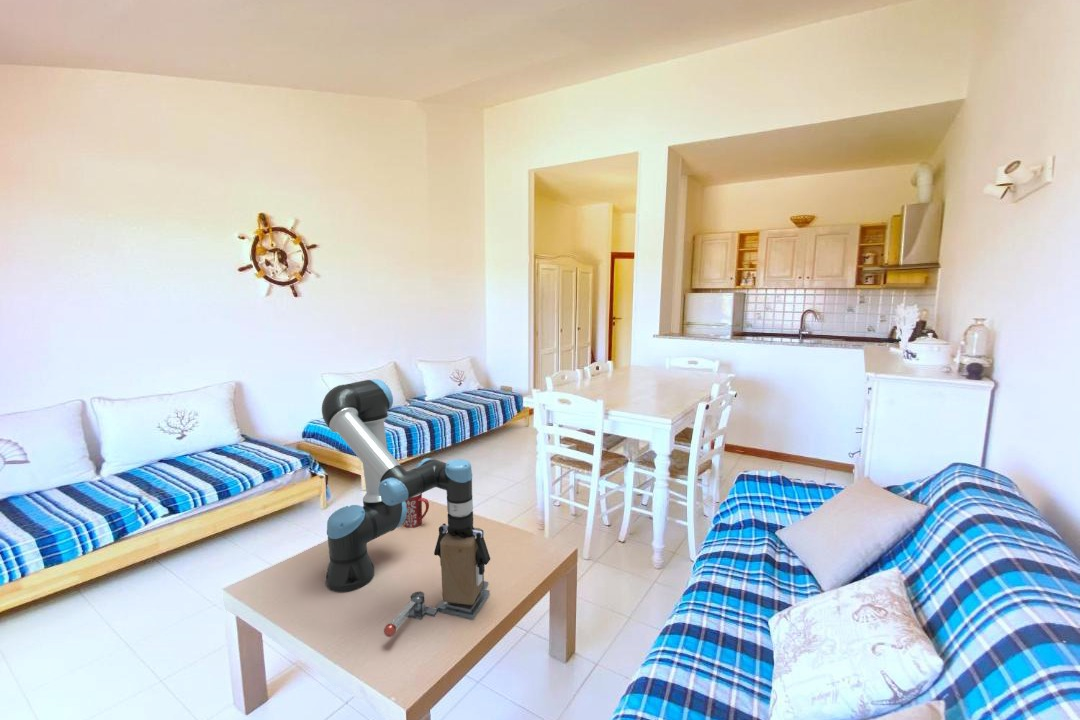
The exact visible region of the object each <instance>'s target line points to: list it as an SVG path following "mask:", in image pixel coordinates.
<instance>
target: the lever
mask: <svg viewBox="0 0 1080 720" xmlns="http://www.w3.org/2000/svg"><path fill="white" fill-rule="evenodd" d="M424 604H425V593H424V592H423V591H415V592H413V593H411V595H410V601H409V602H408V603H407V604H406V605H405V606H404V608H403V609H402V610H401V611H400V612H399V614H397V616H396V617H394V619H393V620H392V621H391V622H389V623H387V624H386V625H385V627H384V628H383V634H384V636H386V637H388V638H391V637H393V636H394V635H395V634H396V633H397V629H398V628H399V627H400V626H401V625H402V624H403V622H404V621H405V620H406V619H407V618H409V617H408V615H409V614H410V613H411V612H412V611H413V610H414V608H415V607H417V606H421V605H424Z"/></svg>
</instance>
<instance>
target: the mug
mask: <svg viewBox="0 0 1080 720" xmlns="http://www.w3.org/2000/svg"><path fill="white" fill-rule="evenodd" d="M404 502H405V503H406V507H407V515H406V519H405V521H404V522H403V525H404V527H406V528H409V529H410V528H411V529H412V528H417V527H419V526H421V525H422V523H423V519H424V518H425V516H426V515H427V513H428V511H429V509H430V502H429V500H428V499H427V498H424V497H423V493H421V494H418V495H416V496H414V497H412V498H410V499H408V500H406V501H404ZM423 503H424V504H425V510H424V512H423Z"/></svg>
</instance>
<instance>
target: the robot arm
mask: <svg viewBox="0 0 1080 720" xmlns="http://www.w3.org/2000/svg"><path fill="white" fill-rule="evenodd" d="M393 404H394V397H393V394H392V390H391V389H390V387H389V385H388V384H387V383H386V382H385V381H384V380H382V379H379V378H374V379H373V378H372V379H364V380H360V381H356V382H351V383H346V384H339V385H336V386H335V387H333V388H331V389H330V390H329V391H328V392H327V393H326V395H325V396H324V398H323V401H322V404H321V415H322V418H323V421H324V423H325V425H326V426H327V427H328V428H329V430H330V431H331V432H333V433H337V434H338V435H339V436H340V437H341V439H343V441H344V442H345V443H346V444H347V446H348V447H349V448H350V449H351V450H352V451H353V454H355V455H356V456H357V458H358V459H359V460H360V461H361V462H362V469H363V475H364V482H365V483H364V484H365V490H366V491H365V492H366V493H365V495H364V496H363V497H362V503H363V506H361V505H359V504H351V505H350V506H348V505H346V506H343V507H341V508H339V509H337V510H335V511H334V512H333V513H332V514H331V515H330V516H329V517H328V519H327V522H326V536H327V544H328V555H329V563H328V566H327V571H326V574H325V586H326V588H327V589H328V590H330V591H332V592H336V593H347V592H352V591H355V590H359V589H360V588H363V587H365V586H366V585H368V584H369V583H370V582H371V581H372V580H373V578H374V576H375V565H374V563H373V561H371V558H370V555H369V553H368V543H369V542H371V541H373V540H375V539H377V538H379V537H382V536H384V535H386V534H388V533H390V532H393V531H395V530H396V529H397V528H398V527H401V526H402V525H404V521H405V519H406V515H407V507H406V503H405V502H404V501H406V500H408V499H410V498H412V497H414V496H416V495H418V494H421V493H422V494H423V493H425V492H427V491H430V490H433V489H434V488H438V489H440V490H443V491H446V504H447V505H446V508H447V524H446V523H442V524H441V525H440V526H439V527H438V537H437V540H436V544H435V548H434V552H433V555H434V556H438V557H439V561H440V562H439V563H440V564H441V550H440V542H441V540H442V538H443V537H444V536H445V534H446V533H447V532H449V534H452V535H451V536H456V535H459V536H460V537H461V538H466V537H471V536H472V535H475V539H476V541H477V545H478V549H477V551H476V562H477V564H476V586H479V585H480V583H481V582H482V574H483V573H484V574H485V571H486V570H485V567H486V565H488V564H489V562H490V561H491V556H490V554H489V550H488V547H487V543H486V541H485V537H484V536H485V535H484V533H485V532H484V530H483V529H481V530H480V531H477V530H474V528H475V527H474V510H473V509H474V504H473V501H474V500H473V470H472V465H471V462H470V461H469V460H468V459H464V458H462V459H460V458H456V459H451V460H449V461H447V462H443V461H441V460H438V459H437V458H436V459H434V458H428V457H427V458H423V459H422V460H421V461H420V462H418V463H417V465H416V467H415V468H412V469H409V470H406V469H405V468H404V467H403V466H402V465H401V464H400V462H399V461H398V460H397V459H396V458H395V457H394V456H393V454H391V452H390V451H389V450H388V444H387V437H386V428H385V421H387V419H388V417H389V416H388V411H389V410H390V409H391V408H392V407H393Z"/></svg>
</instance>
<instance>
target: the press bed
mask: <svg viewBox="0 0 1080 720" xmlns="http://www.w3.org/2000/svg"><path fill="white" fill-rule="evenodd" d="M488 586H489V581H486V580H485V572H484V573H483V586H482V588H481V590H480V592H479V594H478V596H477V598H476V600H475V602H474V604H473V605H465V604H458V603H451V602H445V601H443V598H442V599H441V601H440V602H439V603H438V604H437V606H436V607H435V608H434V607H431V606H429V605H424V604H422V605H421V606H417V607H415V608H414V610H413V611H412V612H411V613H410V614H409V615H408V617H407V618H410V619H411V618H412V619H415V620H419V621H421V620H422V619H423V618H424V617H425V616H429V617H433V618H435V616H436V615H437V614H438V613H441V614H446V615H449V616H453V617H458V618H463V619H466V620H471V621H473V620H474V619H475V618H476V616H477V615H478V613H479V612H480V611H481V608H482V607H484V604H485V602H486V601H487V599H489V596H490V595H491V594H490V591H491V590H489V589H487V588H488Z"/></svg>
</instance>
